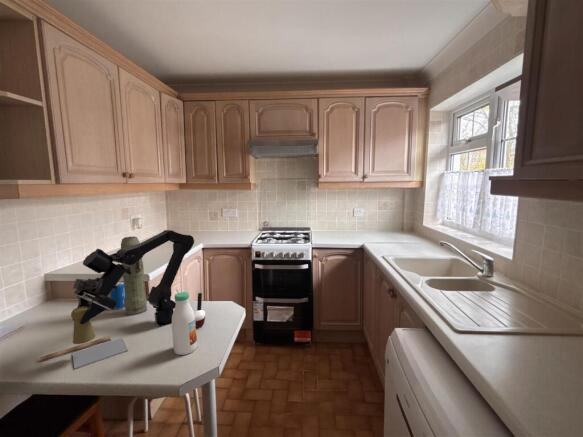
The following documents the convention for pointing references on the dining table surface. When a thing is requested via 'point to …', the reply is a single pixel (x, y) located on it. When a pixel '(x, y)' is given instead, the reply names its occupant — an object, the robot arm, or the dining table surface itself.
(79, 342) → the cork
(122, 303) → the beverage can
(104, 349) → the mat
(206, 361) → the dining table surface
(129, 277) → the thermos
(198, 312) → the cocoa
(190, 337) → the milk bottle
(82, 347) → the walnut line
